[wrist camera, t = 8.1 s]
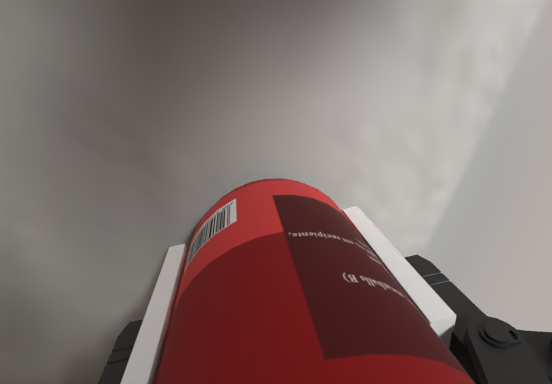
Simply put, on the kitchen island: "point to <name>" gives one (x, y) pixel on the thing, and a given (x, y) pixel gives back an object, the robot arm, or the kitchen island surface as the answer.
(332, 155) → the kitchen island surface
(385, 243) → the robot arm
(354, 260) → the canned food
